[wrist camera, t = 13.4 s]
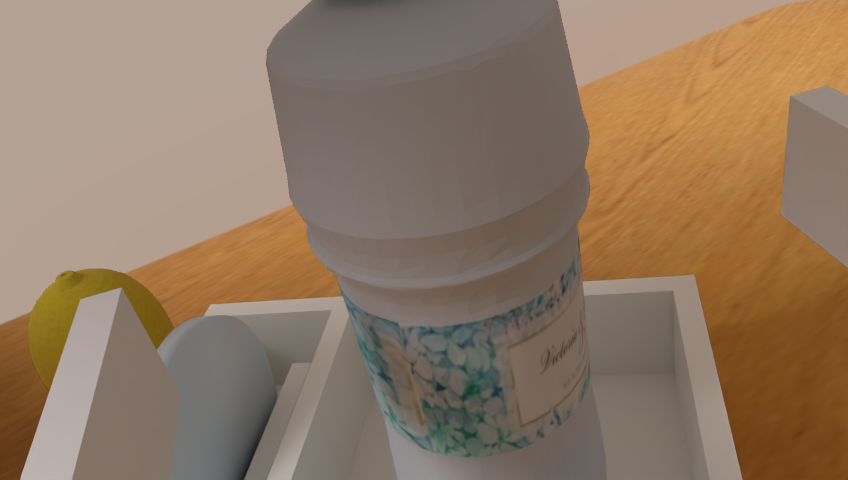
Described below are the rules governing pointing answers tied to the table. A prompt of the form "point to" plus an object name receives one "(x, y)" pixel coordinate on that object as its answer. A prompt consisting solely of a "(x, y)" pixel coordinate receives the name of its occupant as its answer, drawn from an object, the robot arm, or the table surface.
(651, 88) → the table surface
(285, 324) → the divided tray
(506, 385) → the bottle
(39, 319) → the lemon
